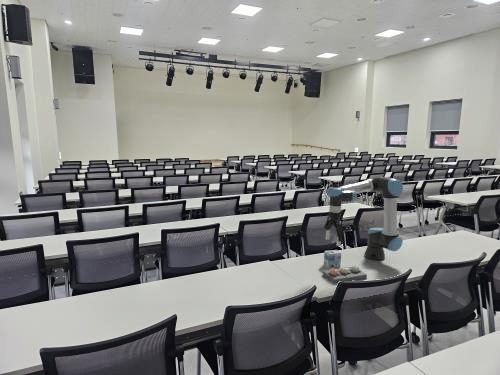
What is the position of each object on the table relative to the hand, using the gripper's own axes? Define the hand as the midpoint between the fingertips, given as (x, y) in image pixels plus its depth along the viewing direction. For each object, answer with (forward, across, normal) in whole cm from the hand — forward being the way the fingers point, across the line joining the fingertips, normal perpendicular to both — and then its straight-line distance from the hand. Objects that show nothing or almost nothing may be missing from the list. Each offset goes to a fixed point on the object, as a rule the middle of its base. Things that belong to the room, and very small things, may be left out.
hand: (332, 242), depth 218 cm
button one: (+20, +4, +17) cm, 27 cm away
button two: (+21, +4, +8) cm, 23 cm away
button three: (+21, +4, 0) cm, 21 cm away
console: (+24, +4, +8) cm, 25 cm away
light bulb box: (+24, -15, +10) cm, 30 cm away
